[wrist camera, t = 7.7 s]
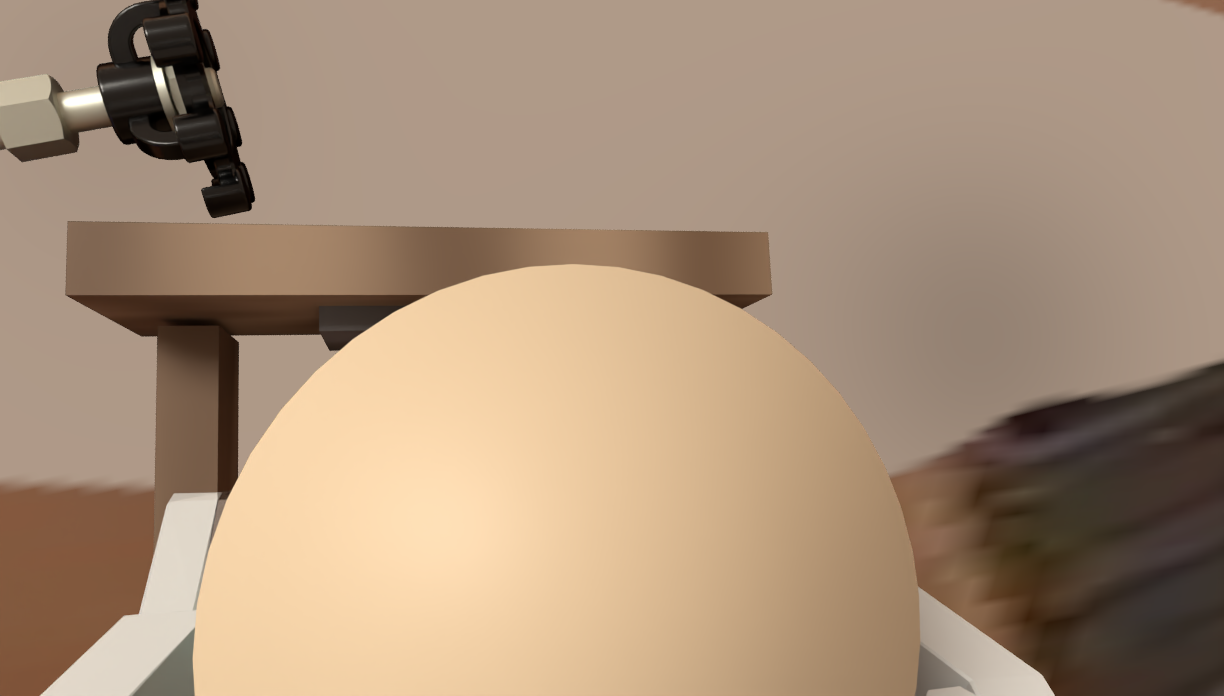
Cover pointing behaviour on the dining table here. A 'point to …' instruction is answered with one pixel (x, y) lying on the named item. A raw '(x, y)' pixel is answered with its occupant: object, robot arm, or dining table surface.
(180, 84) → the valve
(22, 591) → the dining table surface
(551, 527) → the grey-green capped cylinder
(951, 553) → the dining table surface
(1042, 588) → the dining table surface
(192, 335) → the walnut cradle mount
